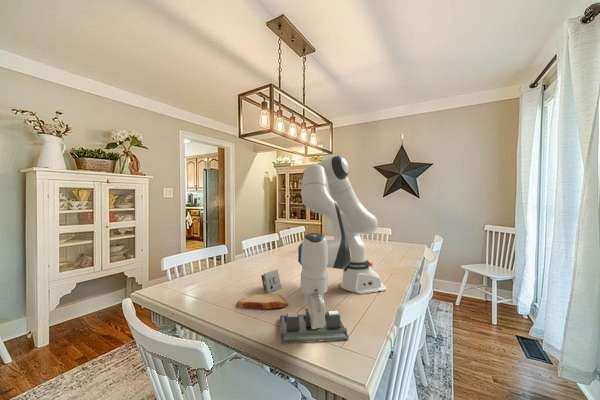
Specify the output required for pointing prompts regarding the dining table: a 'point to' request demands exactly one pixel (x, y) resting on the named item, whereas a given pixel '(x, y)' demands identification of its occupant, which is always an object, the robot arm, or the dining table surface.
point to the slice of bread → (262, 302)
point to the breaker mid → (307, 318)
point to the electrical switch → (271, 281)
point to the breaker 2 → (333, 320)
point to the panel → (310, 331)
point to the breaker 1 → (292, 322)
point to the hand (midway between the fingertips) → (313, 326)
